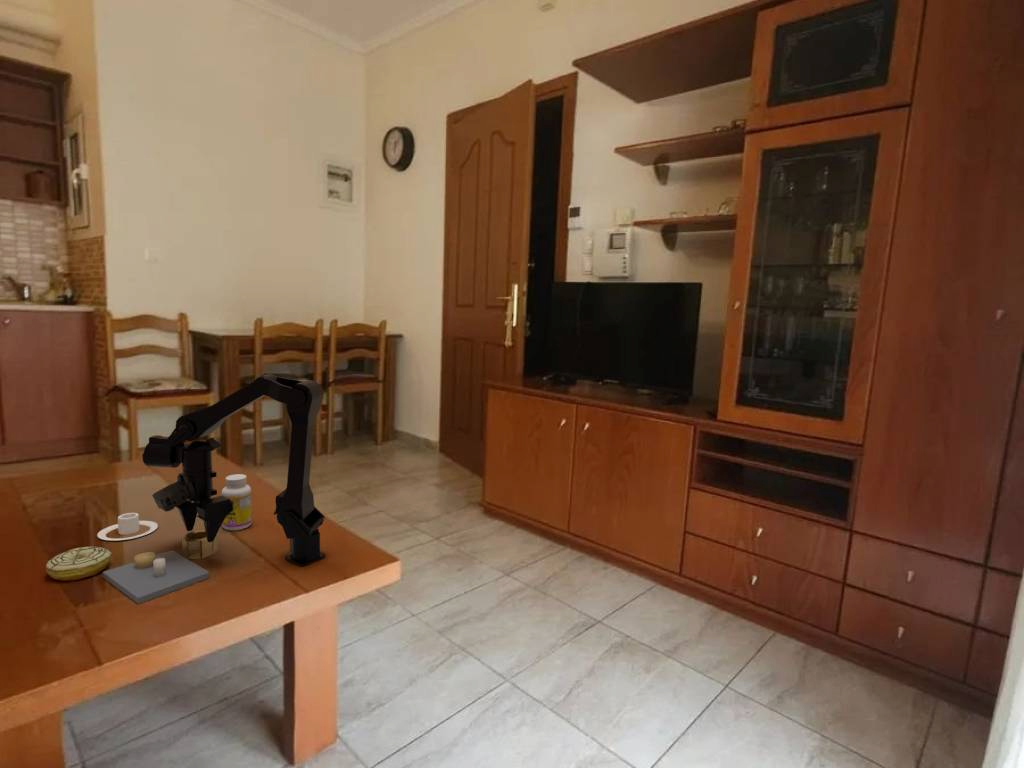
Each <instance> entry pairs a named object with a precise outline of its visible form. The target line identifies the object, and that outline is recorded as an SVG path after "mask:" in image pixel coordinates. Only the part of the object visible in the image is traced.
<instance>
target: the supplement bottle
mask: <svg viewBox="0 0 1024 768" xmlns="http://www.w3.org/2000/svg"><path fill="white" fill-rule="evenodd" d="M247 477H248V476H247V475H246V474H244V473H243V474H242V473H241V474H239V473H236V474H230V475H228V476H226V477H225V484H226V485H225V486H224V487H223V488H222V489H221V496H223V497H225V498H228V499H230V500H231V501H233V502H234V511H233V512H230V514H228V515H227V516H226V518H225V520H224V521H223V523H222V525H221V527H222V528H223V529H224V530H226V531H242V530H244V528H245V529H247V528H248V527H250V526H251V525H252V522H253V521H252V519H253V518H252V514H253V512H252V488H251V486H250V485H249V484H247V480H248V479H247Z"/></svg>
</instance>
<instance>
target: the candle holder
mask: <svg viewBox="0 0 1024 768" xmlns="http://www.w3.org/2000/svg"><path fill="white" fill-rule="evenodd" d="M140 526H146V527H148V528H149V530H147V531H145V532H143V533H141V534H138V535H137V534H136V533H138V532H139V531H140ZM158 526H159V524H158V523H157V522H155V521H151V520H140V515H139V513H137V512H126V513H123V514H120V515H118V517H117V524H112V525H110V526H106V528H103V529H101V530H100V531H99V532H98V533H97V534H96V537H97V538H98V539H100V540H103V541H111V542H112V541H113V542H114V541H115V542H116V541H127V540H132V539H137V538H140V537H143V536H146V535H149V534H150V533H153V532H155V531H156V530H157V529H158ZM116 529H117V530H118V531H117V532H118V534H119V535H123V536H127V535H132V534H136V535H134V536H130V537H121V538H120V537H119V538H113V537H112V538H111V537H107V534H108V533H110V532H111V531H113V530H116Z"/></svg>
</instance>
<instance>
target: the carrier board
mask: <svg viewBox="0 0 1024 768" xmlns="http://www.w3.org/2000/svg"><path fill="white" fill-rule="evenodd" d="M133 560H134V562H130V563H127V564H124V565H120V566H117V567H114V568H111V569H108V570H105V571H103V572H102V578H103V579H105V581H107V582H108V583H110V584H111V585H113V586H114V587H115V588H116V589H118V591H120V592H121V593H123V595H126V596H127V597H128V598H129V599H131V600H132V601H133V602H135V603H136V604H138V605H140V604H142V603H145V602H147V601H150V600H154V599H156V598H159V597H161V596H164V595H167V594H169V593H172V592H175V591H177V590H180V589H183V588H185V587H188V586H191V585H194V584H196V583H199V582H202V581H205V580H208V579H210V577H211V576H210V575H211V574H210V572H209V571H208V570H206V568H202V567H201V566H200V565H198V564H196V563H194V562H193V561H191V560H190V559H187V558H185V557H184V556H183V555H180V554H179V553H177V552H176V551H174V550H168V551H165V552H162V553H158V554H156V553H155V552H154V551H147V552H146V551H145V552H142V553H138V554H136V555H134V559H133Z"/></svg>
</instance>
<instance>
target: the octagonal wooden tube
mask: <svg viewBox="0 0 1024 768" xmlns="http://www.w3.org/2000/svg"><path fill="white" fill-rule="evenodd" d="M181 546H182V547H181V548H182V550H181V551H182V556H183V557H184V558H186V559H188V560H199V559H204V558H208V557H211V556H213V555H214V554H215V553H216V552H217V551H218V535H216V537H215V539H214V541H212V542H208V541H207V537H206V532H205V529H199V530H192V531H189V532H187V533H185V534H184V535H183V536H182V537H181Z"/></svg>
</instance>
